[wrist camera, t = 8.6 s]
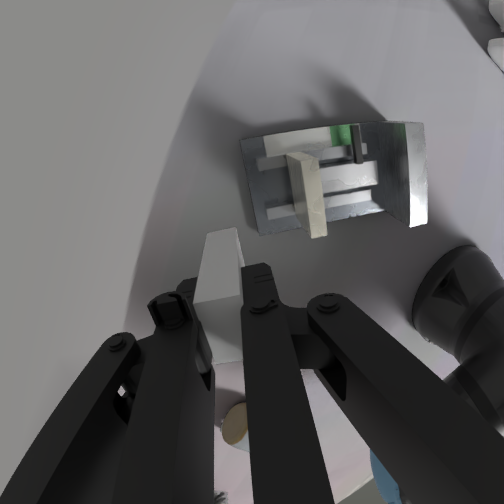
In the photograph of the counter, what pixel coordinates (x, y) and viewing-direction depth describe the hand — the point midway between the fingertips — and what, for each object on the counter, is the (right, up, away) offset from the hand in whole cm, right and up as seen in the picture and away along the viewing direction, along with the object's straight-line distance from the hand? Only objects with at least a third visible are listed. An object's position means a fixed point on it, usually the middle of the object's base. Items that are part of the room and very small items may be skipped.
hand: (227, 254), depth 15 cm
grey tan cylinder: (+1, -25, +26) cm, 36 cm away
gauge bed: (+8, +8, +12) cm, 16 cm away
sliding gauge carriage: (+8, +8, +10) cm, 15 cm away
